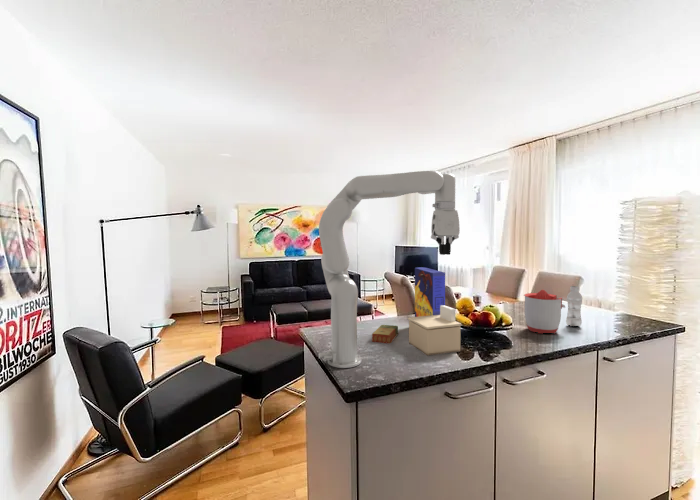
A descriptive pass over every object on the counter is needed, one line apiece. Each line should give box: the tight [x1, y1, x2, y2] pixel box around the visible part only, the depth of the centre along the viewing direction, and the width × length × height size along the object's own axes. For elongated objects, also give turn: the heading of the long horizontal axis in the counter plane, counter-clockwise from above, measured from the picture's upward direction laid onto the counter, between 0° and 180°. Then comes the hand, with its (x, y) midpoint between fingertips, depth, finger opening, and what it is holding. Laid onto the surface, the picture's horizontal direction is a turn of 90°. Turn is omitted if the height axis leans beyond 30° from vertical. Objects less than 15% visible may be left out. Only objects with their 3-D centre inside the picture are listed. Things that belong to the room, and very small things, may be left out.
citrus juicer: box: [523, 289, 566, 334], centre depth 162 cm, size 16×17×20 cm
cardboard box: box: [408, 320, 461, 356], centre depth 141 cm, size 15×15×10 cm
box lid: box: [407, 304, 463, 329], centre depth 140 cm, size 16×16×6 cm
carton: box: [371, 324, 399, 345], centre depth 155 cm, size 8×16×4 cm, turn 159°
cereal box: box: [414, 266, 446, 317], centre depth 162 cm, size 22×6×30 cm, turn 10°
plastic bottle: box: [565, 285, 583, 327], centre depth 168 cm, size 6×7×20 cm
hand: (444, 254), depth 132 cm, fingers closed
